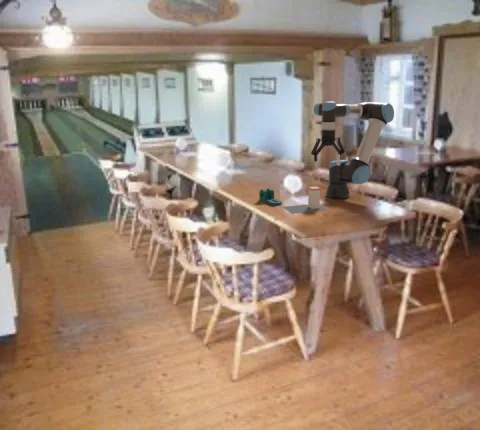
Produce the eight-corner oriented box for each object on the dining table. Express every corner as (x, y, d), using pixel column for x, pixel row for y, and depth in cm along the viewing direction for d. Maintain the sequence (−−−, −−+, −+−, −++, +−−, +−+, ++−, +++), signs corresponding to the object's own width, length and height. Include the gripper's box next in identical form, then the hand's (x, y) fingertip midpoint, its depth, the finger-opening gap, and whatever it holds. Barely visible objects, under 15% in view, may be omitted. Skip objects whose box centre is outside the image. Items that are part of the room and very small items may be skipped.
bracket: (259, 200, 328) (259, 188, 325) (268, 199, 330) (268, 187, 328) (274, 207, 312) (274, 194, 310) (283, 205, 315) (283, 192, 313)
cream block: (316, 206, 310) (316, 186, 307) (319, 208, 305) (320, 188, 302) (308, 206, 308) (308, 187, 305) (311, 209, 304) (312, 188, 301)
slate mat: (315, 204, 316) (315, 203, 316) (327, 211, 301) (327, 210, 301) (281, 207, 310) (281, 206, 310) (292, 214, 295) (292, 213, 295)
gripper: (345, 127, 304) (344, 163, 310) (305, 129, 297) (305, 166, 303) (351, 128, 297) (350, 165, 303) (310, 131, 290) (310, 168, 296)
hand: (327, 166), depth 303 cm, fingers open, 13 cm apart
